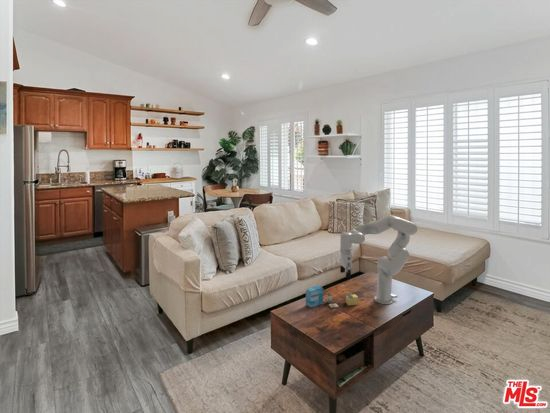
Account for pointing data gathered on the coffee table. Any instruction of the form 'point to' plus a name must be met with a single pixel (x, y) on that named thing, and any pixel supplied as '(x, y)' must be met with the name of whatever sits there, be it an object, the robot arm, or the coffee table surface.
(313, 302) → the data package
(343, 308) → the coffee table surface
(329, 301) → the shiny grey cylinder
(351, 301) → the yellow and grey block
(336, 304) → the beige striped flat block
